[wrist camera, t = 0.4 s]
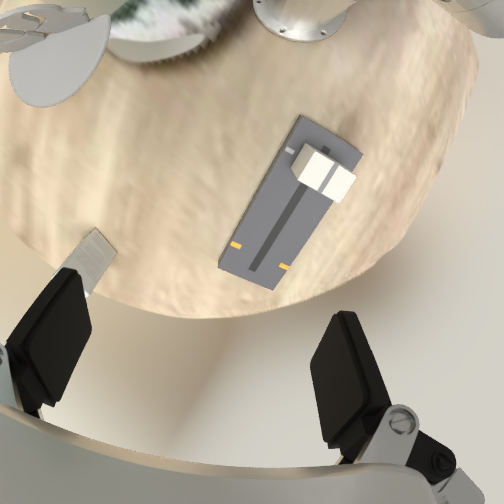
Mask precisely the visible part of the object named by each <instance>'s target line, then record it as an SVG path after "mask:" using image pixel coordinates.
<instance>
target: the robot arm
mask: <svg viewBox="0 0 504 504" xmlns="http://www.w3.org/2000/svg"><path fill="white" fill-rule="evenodd" d="M258 1H260V2H261V3H257V2H258ZM356 1H357V0H253V8H254V11H255V14H256V16H257V17H258V19H259V21H260V22H261V23H262V24H263V25H264V26H265V27H266V28H267V29H268V30H270V31H271V32H272V33H274V34H276V35H278V36H279V37H281V38H284V39H287V40H290V41H295V42H316V41H319V40H323V39H325V38H327V37H329V36H331V35H332V34H334V33H335V32H336V31H337V30H338V29H339V28H340V27H341V26H342V24H343V22H344V20H345V17H346V9H347V8H348V7H350V6H351V5H352V4H353V3H355V2H356ZM433 1H434V2H436V3H437V4H438V5H440V6H441V7H442V8H443V9H445V10H446V11H447V12H448V13H450V14H451V15H452V16H453V17H455V18H456V19H457V20H458V21H460V22H461V23H462V24H463V25H465V26H466V27H468V28H469V29H471V30H472V31H474V32H476V33H478V34H480V35H482V36H486V37H490V38H504V0H433ZM280 30H282V31H283V33H280ZM321 32H322V33H324V35H321ZM91 331H92V326H91V321H90V317H89V312H88V308H87V303H86V298H85V293H84V288H83V282H82V277H81V275H80V274H78V271H77V270H76V269H72V268H67V267H62V268H61V269H60V270H59V271H58V272H57V274H56V275H55V276H54V277H53V278H52V280H51V281H50V282H49V283H48V285H47V286H46V287H45V288H44V290H43V291H42V292H41V294H40V295H39V296H38V298H37V299H36V300H35V301H34V303H33V304H32V305H31V307H30V308H29V309H28V311H27V312H26V313H25V315H24V316H23V317H22V319H21V320H20V322H19V323H18V325H17V326H16V327H15V329H14V330H13V332H12V333H11V335H10V336H9V338H8V339H7V343H6V345H5V346H3V345H2V344H0V504H484V502H485V499H484V495H483V493H482V491H481V490H480V489H479V488H478V487H477V486H476V485H475V484H474V482H473V481H472V480H471V479H470V478H469V477H468V476H467V475H466V474H465V473H464V471H462V469H461V468H458V469H456V459H455V455H454V454H453V452H452V451H451V450H450V449H449V448H447V447H446V446H444V445H442V444H441V443H439V442H437V441H436V440H434V439H433V438H431V437H429V436H428V435H426V434H425V433H423V432H422V431H420V430H419V419H418V417H417V415H416V414H415V412H414V411H413V410H412V409H410V408H409V407H407V406H405V405H399V404H397V405H392V404H391V401H390V398H389V395H388V392H387V390H386V387H385V384H384V381H383V379H382V376H381V373H380V371H379V368H378V365H377V363H376V361H375V358H374V355H373V353H372V350H371V349H370V346H369V344H368V341H367V339H366V336H365V334H364V332H363V329H362V327H361V324H360V322H359V320H358V317H357V315H356V313H355V312H351V311H339V312H338V313H337V314H334V315H333V316H332V319H331V321H330V323H329V325H328V327H327V329H326V331H325V334H324V335H323V337H322V340H321V341H320V343H319V345H318V347H317V349H316V351H315V353H314V355H313V358H312V360H311V362H310V370H311V375H312V381H313V386H314V391H315V397H316V402H317V407H318V413H319V418H320V425H321V430H322V436H323V440H324V442H327V443H328V449H335V448H340V452H341V456H340V458H339V459H338V461H337V462H336V464H335V465H332V466H320V467H297V468H251V467H234V466H221V465H211V464H202V463H194V462H187V461H181V460H175V459H169V458H164V457H158V456H153V455H149V454H144V453H140V452H136V451H131V450H128V449H124V448H120V447H116V446H113V445H109V444H106V443H103V442H100V441H96V440H93V439H90V438H87V437H84V436H82V435H79V434H76V433H73V432H70V431H68V430H65V429H63V428H60V427H57V426H55V425H52V424H50V423H48V422H45V421H44V418H43V415H42V412H41V409H40V408H41V406H42V403H44V404H47V405H49V406H51V407H54V406H55V403H56V401H57V402H59V401H60V400H61V398H62V395H63V393H64V391H65V388H66V386H67V384H68V381H69V379H70V377H71V374H72V372H73V370H74V368H75V366H76V364H77V362H78V359H79V357H80V355H81V353H82V351H83V349H84V347H85V345H86V343H87V341H88V339H89V337H90V335H91Z"/></svg>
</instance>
